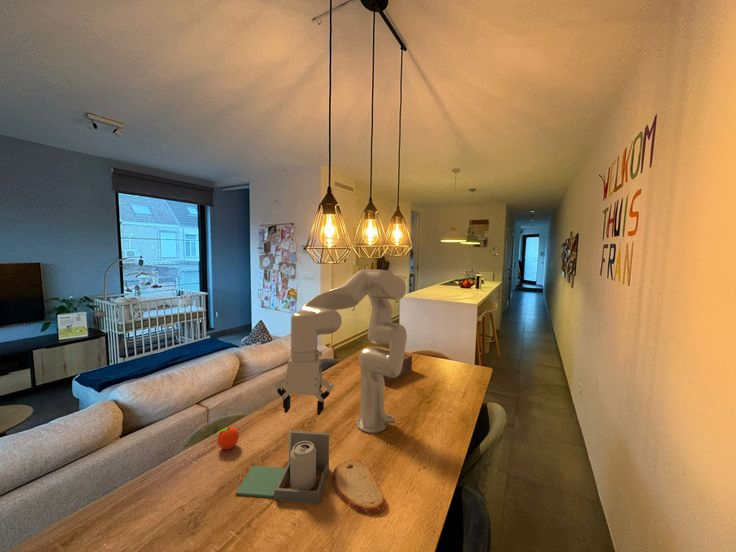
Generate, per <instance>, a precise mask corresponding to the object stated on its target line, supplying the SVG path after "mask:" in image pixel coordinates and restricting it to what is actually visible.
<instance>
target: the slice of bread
mask: <svg viewBox="0 0 736 552" xmlns="http://www.w3.org/2000/svg"><path fill="white" fill-rule="evenodd" d="M331 478H332V479H331V480H332V484H333V488H334V489H335V492H336V493H337V495H338V497H340V499H342V501H343V502H344V504H345V505H347V506H348V507H350V508H351V509H353V510H354V511H356V512H358V513H361V514H364V515H370V516H376V515H381V514H383V513H384V512H385V511H386V510H387V503H386V501H385V498H384V497H385V496H384V494H383V492H382V489H381V488H380V486H379V484H378V482H377V481H376V479H375V477H374V475H373V473H372V472H371V470H370V469H369V468H368V467H367V466H366V465H365V463H364V462H362V460H360V459H359V458H352V459H347V460H345V461H343V462H342V463H340V464H338V465H336V466H335V468H334V470H333V473H332V477H331Z"/></svg>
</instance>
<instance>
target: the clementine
mask: <svg viewBox="0 0 736 552" xmlns="http://www.w3.org/2000/svg"><path fill="white" fill-rule="evenodd" d="M217 434H218V435H217ZM216 435H217V439H216V441H217V445H218V447H219V448H221V449H223V450H229V449H232V448H234V447H235V446H236V444H237V443H238V441H239V439H240V438H239V437H240V434H239V431H238V429H237V428H235V427H232V426H226V427H224V428H222V429H219V431H217V433H216V434H215V435H214V437H213V438H215V437H216Z"/></svg>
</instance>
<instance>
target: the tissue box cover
mask: <svg viewBox="0 0 736 552" xmlns="http://www.w3.org/2000/svg"><path fill="white" fill-rule="evenodd" d="M412 366H413V355H410V354H407V353H406V352H405V353H404V359H403V364H402V369H401V372H400V374H399V375H398V376H397V377H388V376H384V375H383V378H384V382H385V384H386V383H388V382H390V381H393V380H395V379H398V378H400V377H404V376H405V375H408V374H411V373H412V370H413V367H412Z"/></svg>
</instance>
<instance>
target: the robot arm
mask: <svg viewBox="0 0 736 552" xmlns="http://www.w3.org/2000/svg"><path fill="white" fill-rule="evenodd" d="M406 292H407V285H406V283H405V281H404V280H403V279H402V278H401V277H399V276H398V275H396V274H394V273H392V272H390V271H388V270H385V269H378V268H377V269H374V268H373V269H371V268H363V269H360V270H358V271H357V272H356V273H353V275H352V276H351V277H350V278H348V279H347V280H346V281H345V282H344V283H343V284H342V285H340V286H338V287H335V288H332V289H330V290H328V291H324V292H322V293H320V294H318V295H316V296H314V297H313V298H311V299H310V300H309V301H307V303H305V304H304V305H303V306H302V307H301V308H300V309H299V311H296V312H294V313H293V314H292V315H291V318H290V357H289V359H288V360H287V365H286V366H287V367H286V371H285V377H283V378H280V379H279V380H276V381H275V382H274V383H273V386H274V387H275V390H276V392H277V394H279V396H281V397H280V399H281V400H282V409H284V413H285V414H286V413H288V412H289V410H290V409H291V395H301V396H305V395H306V396H315V398H316V399H317V405H316V410H317V411H316V414H317V416H320V415H321V413H322V412H324V407H325V406H324V404H325V400H326V399H327V398H328V397H329V395H330V394H331V392H332V390H334V389H333V388H334V384H332V383H331V382H329V381H327V380H325V379H324V378H323V369H322V361H321V358H320V357H322V356H323V351H320V350H319V347H318V340H319V339H318V337H319V336H320V335H331V334H334V333H335V332H337V331H338V330H339V329H340V328H341V325H342V322H343V321H342V316H341V314H340V313H339V312H338V310H339V311H340V310H346V309H350V308H354V307H356V306H357V305H359V303H360V302H361V301H362V300H363V299H364V298H366V296H368V298H369V300H370V304H371V312H370V313H371V314H370V319H369V325H368V329H367V330H368V331H367V340H368V341H369V342H370V343H372V344H375V345H377V346H378V345H379V346H383V347H388V348H389V350H386V349H383V348H379V347H375V346H367V347H364V348H363V349H361V351H360V352H359V356H358V364H359V370H360V413H359V414H360V415H359V416H358V417H357V418H356V423H355V424H356V427H357V428H358V429H359V430H361V431H362V432H365V433H370V434H377V433H381V432H383V431H385V430H386V429H387V427H388V423H391V424H395V423H396V418H395V417H393V414H386V411H385V390H386V389H385V385H386V383H385V382H384V378H383V375H384V376H388V377H397V376H398V375H399V374H400V372H401V369H402V364H403V359H404V353H405V354H406V352H405V351H406V345H407V338H408V335H407V330H406V328H405V326H403V325H402V324H400V323H397V322H392V317H393V306H392V304H391V302H390V300H393V301H399V300H401V299H403V298H404V297H405V295H406ZM282 385H284V387H283V386H282ZM323 387H324V388H326V390H324V391H325V392H324V391H323V390H322V388H323ZM290 394H291V395H290Z"/></svg>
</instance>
